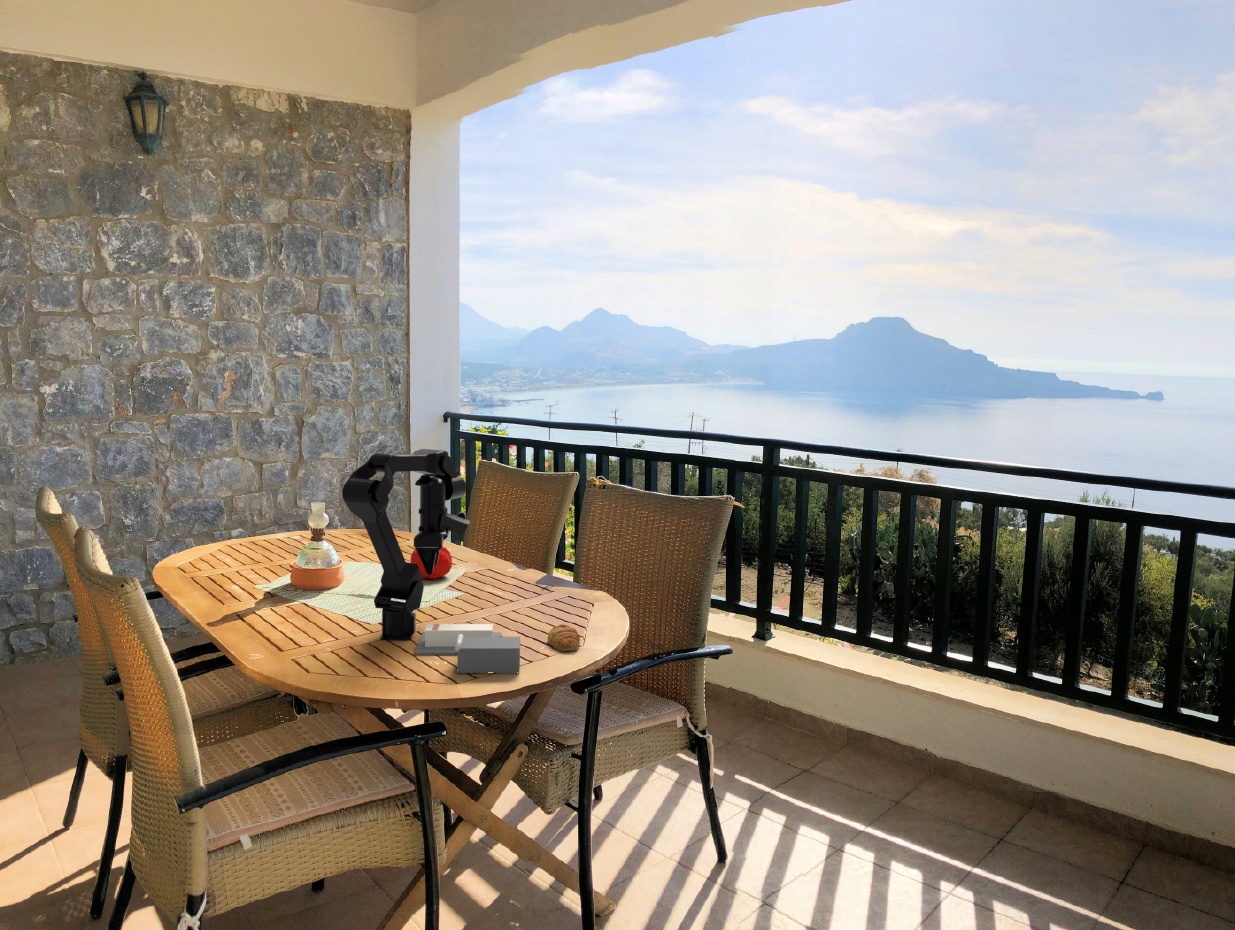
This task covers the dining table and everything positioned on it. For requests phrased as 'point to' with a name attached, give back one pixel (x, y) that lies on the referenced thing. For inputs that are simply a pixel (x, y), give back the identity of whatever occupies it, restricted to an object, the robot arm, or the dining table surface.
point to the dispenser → (488, 654)
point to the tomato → (439, 569)
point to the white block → (454, 633)
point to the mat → (439, 648)
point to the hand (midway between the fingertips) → (432, 569)
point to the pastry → (563, 637)
